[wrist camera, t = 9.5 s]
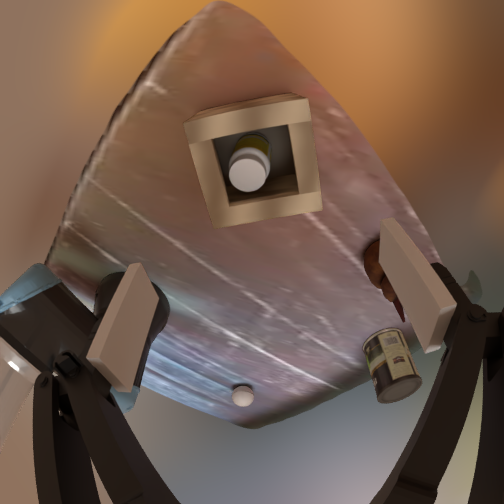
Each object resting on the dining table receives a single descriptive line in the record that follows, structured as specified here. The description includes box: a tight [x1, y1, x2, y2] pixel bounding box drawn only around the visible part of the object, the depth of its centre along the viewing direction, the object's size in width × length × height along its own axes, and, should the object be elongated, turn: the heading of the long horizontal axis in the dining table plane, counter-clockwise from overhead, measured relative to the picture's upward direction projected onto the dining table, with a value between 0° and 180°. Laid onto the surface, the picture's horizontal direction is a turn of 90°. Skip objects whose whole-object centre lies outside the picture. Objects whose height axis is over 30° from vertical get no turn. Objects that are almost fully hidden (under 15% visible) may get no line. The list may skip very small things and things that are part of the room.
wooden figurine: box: [364, 240, 405, 322], centre depth 41 cm, size 7×6×15 cm
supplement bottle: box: [229, 133, 272, 192], centre depth 34 cm, size 5×5×8 cm
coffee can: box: [363, 328, 422, 403], centre depth 55 cm, size 10×10×14 cm
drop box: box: [183, 93, 323, 229], centre depth 33 cm, size 12×12×11 cm
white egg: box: [231, 386, 254, 406], centre depth 68 cm, size 8×6×6 cm
